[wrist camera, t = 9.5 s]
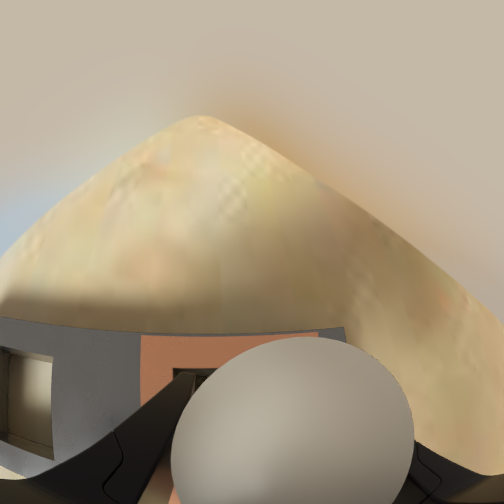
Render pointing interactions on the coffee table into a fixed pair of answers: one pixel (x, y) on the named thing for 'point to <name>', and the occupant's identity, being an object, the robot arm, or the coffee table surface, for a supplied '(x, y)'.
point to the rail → (107, 379)
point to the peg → (295, 429)
